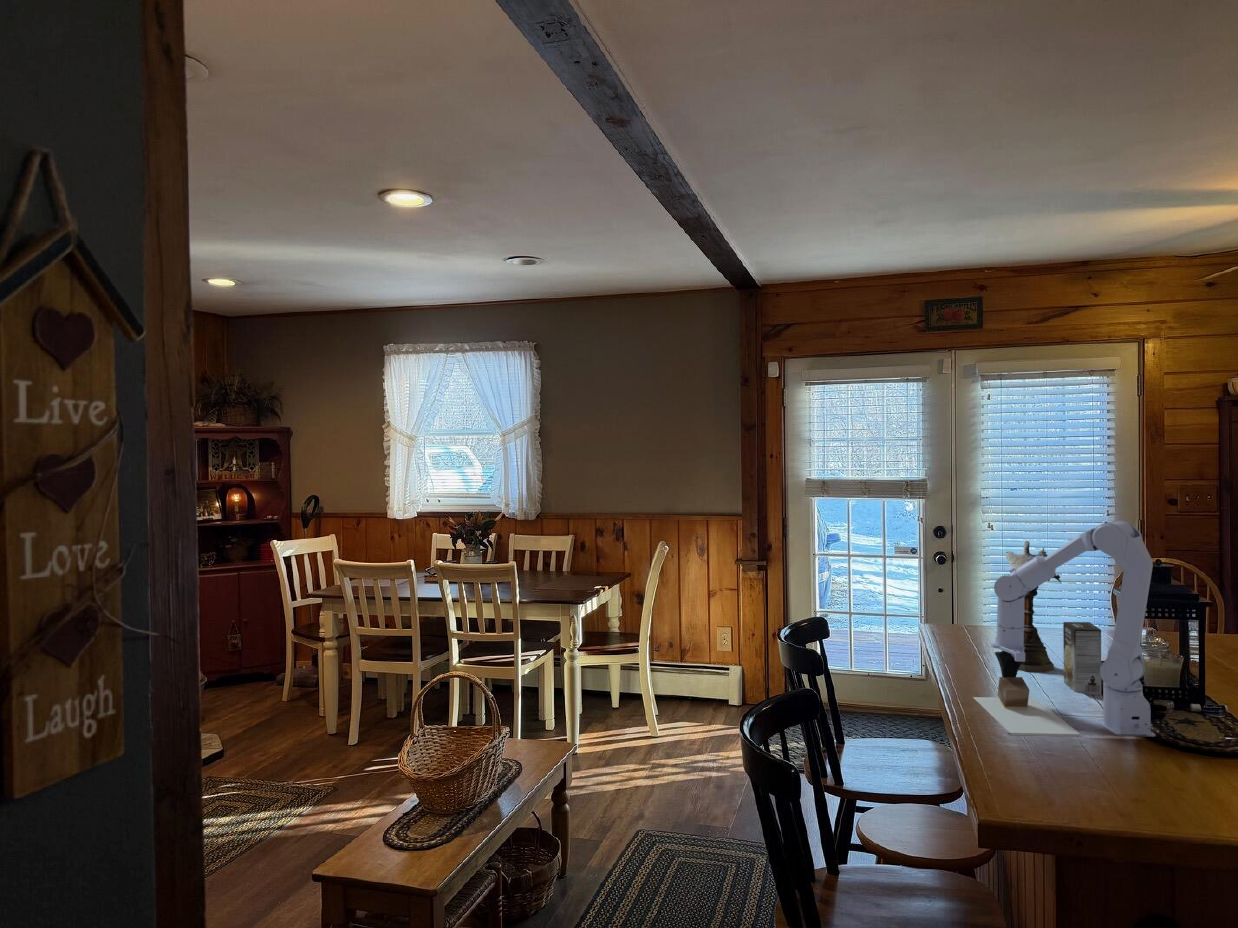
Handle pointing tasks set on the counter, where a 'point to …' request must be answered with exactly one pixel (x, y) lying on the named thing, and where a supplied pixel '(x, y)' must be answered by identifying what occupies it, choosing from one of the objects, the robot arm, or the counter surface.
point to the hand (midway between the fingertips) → (1008, 683)
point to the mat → (1027, 719)
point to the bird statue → (1031, 621)
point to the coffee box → (1082, 657)
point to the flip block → (1013, 692)
